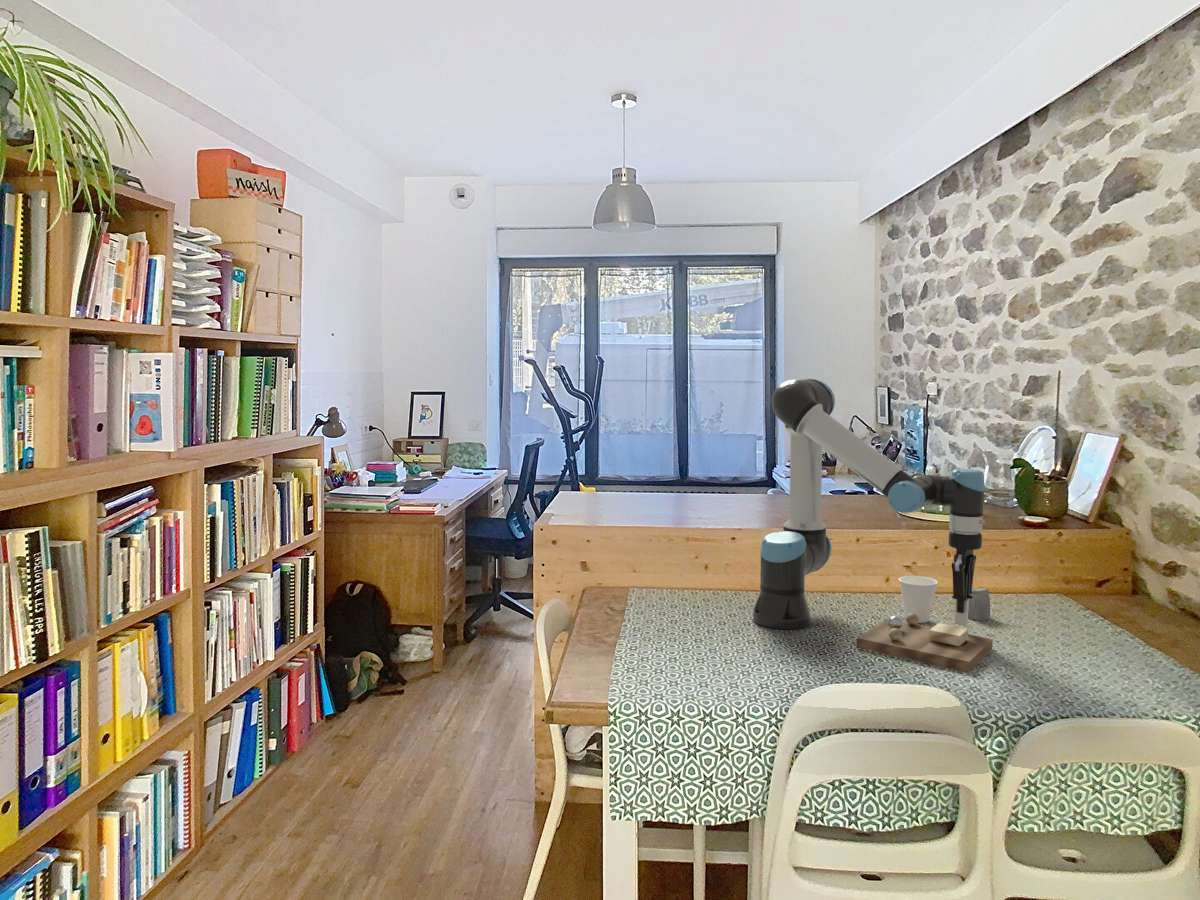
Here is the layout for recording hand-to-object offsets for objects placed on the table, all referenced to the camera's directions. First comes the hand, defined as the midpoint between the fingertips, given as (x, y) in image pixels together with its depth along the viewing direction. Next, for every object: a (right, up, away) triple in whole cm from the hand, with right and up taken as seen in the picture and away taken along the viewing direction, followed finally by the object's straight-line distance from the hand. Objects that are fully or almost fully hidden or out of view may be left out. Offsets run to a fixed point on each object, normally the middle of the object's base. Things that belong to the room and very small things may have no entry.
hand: (961, 624), depth 209 cm
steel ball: (-17, 0, 0) cm, 17 cm away
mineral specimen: (+12, -2, +20) cm, 24 cm away
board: (-12, -5, -6) cm, 14 cm away
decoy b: (-11, 0, +4) cm, 12 cm away
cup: (-5, -3, +17) cm, 17 cm away
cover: (-6, -2, -8) cm, 10 cm away
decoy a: (-19, -1, -8) cm, 21 cm away
